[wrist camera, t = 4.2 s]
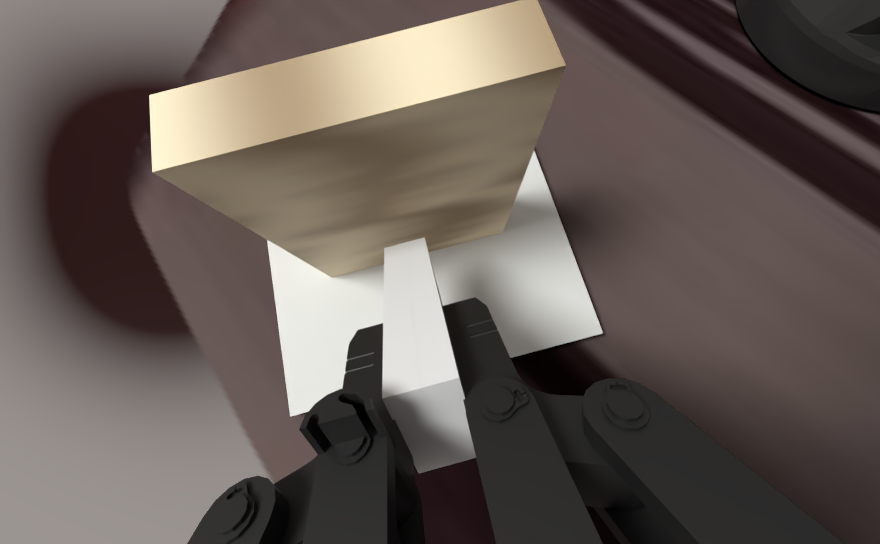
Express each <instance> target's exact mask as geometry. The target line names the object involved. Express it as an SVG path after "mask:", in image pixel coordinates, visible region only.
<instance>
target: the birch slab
mask: <svg viewBox="0 0 880 544" xmlns="http://www.w3.org/2000/svg"><path fill="white" fill-rule="evenodd" d="M565 66H566V64H565V62H564V60H563V58H562V55H561V53H560V51H559V49H558V46H557V44H556V42H555V39H554V37H553V35H552V33H551V30H550V28H549V26H548V23H547V21H546V19H545V17H544V14H543V12H542V10H541V7H540V5H539V3H538V1H537V0H520V1H516V2H512V3H508V4H504V5H500V6H496V7H492V8H488V9H485V10H481V11H477V12H473V13H469V14H465V15H461V16H457V17H453V18H449V19H445V20H442V21H438V22H434V23H430V24H426V25H422V26H418V27H414V28H410V29H406V30H402V31H398V32H395V33H391V34H387V35H383V36H379V37H375V38H371V39H367V40H363V41H359V42H355V43H352V44H348V45H344V46H340V47H336V48H332V49H328V50H324V51H320V52H316V53H312V54H309V55H305V56H301V57H297V58H293V59H289V60H285V61H281V62H277V63H273V64H269V65H266V66H262V67H258V68H254V69H250V70H246V71H242V72H238V73H234V74H230V75H226V76H222V77H219V78H215V79H211V80H207V81H203V82H199V83H195V84H191V85H187V86H183V87H179V88H176V89H172V90H168V91H164V92H160V93H156V94H152V95H149V98H150V125H151V150H152V172H153V173H155V174H157V175H158V176H160V177H162V178H163V179H165V180H167V181H168V182H170V183H172V184H174V185H175V186H177V187H179V188H180V189H182V190H184V191H185V192H187V193H189V194H191V195H192V196H194V197H196V198H197V199H199V200H201V201H202V202H204V203H206V204H208V205H209V206H211V207H213V208H214V209H216V210H218V211H219V212H221V213H223V214H225V215H226V216H228V217H230V218H231V219H233V220H235V221H236V222H238V223H240V224H241V225H243V226H245V227H247V228H248V229H250V230H252V231H253V232H255V233H257V234H258V235H260V236H262V237H264V238H265V239H267V240H269V241H270V242H272V243H274V244H275V245H277V246H279V247H281V248H282V249H284V250H286V251H287V252H289V253H291V254H292V255H294V256H296V257H298V258H299V259H301V260H303V261H304V262H306V263H308V264H309V265H311V266H313V267H315V268H316V269H318V270H320V271H321V272H323V273H325V274H326V275H328V276H330V277H331V278H332V277H336V276H339V275H343V274H347V273H351V272H355V271H359V270H362V269H366V268H370V267H374V266H378V265H381V264H384V248H386V247H390V246H394V245H397V244H401V243H405V242H409V241H412V240H416V239H420V238H424V237H425V241H426V245H427V248H428V252H431V251H435V250H439V249H442V248H446V247H450V246H454V245H458V244H461V243H465V242H469V241H473V240H477V239H481V238H484V237H488V236H492V235H496V234H500V233H503V231H504V228H505V226H506V223H507V220H508V218H509V215H510V212H511V210H512V207H513V204H514V202H515V199H516V196H517V194H518V191H519V188H520V186H521V183H522V181H523V178H524V175H525V173H526V170H527V167H528V165H529V162H530V159H531V157H532V154H533V151H534V149H535V146H536V143H537V141H538V138H539V135H540V133H541V130H542V127H543V125H544V122H545V119H546V117H547V114H548V111H549V109H550V106H551V104H552V101H553V98H554V96H555V93H556V90H557V88H558V85H559V82H560V80H561V77H562V74H563V72H564V69H565Z"/></svg>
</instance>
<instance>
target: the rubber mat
mask: <svg viewBox="0 0 880 544" xmlns="http://www.w3.org/2000/svg"><path fill="white" fill-rule="evenodd" d="M267 242H268V250H269V257H270V265H271V273H272V280H273V288H274V295H275V303H276V311H277V318H278V326H279V334H280V341H281V349H282V357H283V364H284V372H285V379H286V387H287V395H288V402H289V410H290V416H294V415H298V414H302V413H305V412H309V411H310V409H311V408H312V407H313V406H314V404H315V403H317V402H318V401H319V400H321V399H322V398H323V397H325V396H326V395H327V394H330V393H332V392H334V391H337V390H339V389H342V388H343V381H344V374H346V373H345V367H346V361H347V354H348V347H349V343H350V341H351V340H352V338H353V337H354V335H355V333H356V332H357V330H359V329H363V328H367V327H370V326H374V325H378V324H382V323H383V303H384V264H381V265H378V266H374V267H370V268H366V269H362V270H359V271H355V272H351V273H347V274H343V275H339V276H336V277H332V278H331V277H330V276H328V275H326V274H325V273H323V272H321V271H320V270H318V269H316V268H315V267H313V266H311V265H309V264H308V263H306V262H304V261H303V260H301V259H299V258H298V257H296V256H294V255H292V254H291V253H289V252H287V251H286V250H284V249H282V248H281V247H279V246H277V245H275V244H274V243H272V242H270V241H269V240H267ZM429 256H430V259H431V263H432V267H433V270H434V274H435V278H436V281H437V285H438V289H439V292H440V296H441V300H442V304H443V306H444V305H448V304H451V303H455V302H459V301H463V300H466V299H470V298H474V297H476V298H477V299H478V300H480V301H481V302H482V303H484V304H485V305H487V307H488V309H489V312H490V314H491V316H492V318H493V320H494V323H495V325H496V327H497V330H498V331H499V334H500V336H501V338H502V340H503V343H504V345H505V347H506V349H507V351H508V354H509V356H510V358H512V357H516V356H520V355H523V354H527V353H531V352H535V351H539V350H542V349H546V348H550V347H554V346H557V345H561V344H565V343H569V342H572V341H576V340H580V339H584V338H587V337H591V336H595V335H599V334H602V333H603V332H602V329H601V326H600V324H599V321H598V318H597V316H596V313H595V310H594V308H593V305H592V302H591V300H590V297H589V294H588V292H587V289H586V286H585V284H584V281H583V278H582V276H581V273H580V271H579V268H578V265H577V263H576V260H575V257H574V255H573V252H572V249H571V247H570V244H569V241H568V239H567V236H566V233H565V231H564V228H563V225H562V223H561V220H560V218H559V215H558V212H557V210H556V207H555V204H554V202H553V199H552V196H551V194H550V191H549V188H548V186H547V183H546V180H545V178H544V175H543V172H542V170H541V167H540V164H539V162H538V159H537V157H536V154H535V151H533V154H532V157H531V159H530V162H529V165H528V167H527V170H526V173H525V175H524V178H523V181H522V183H521V186H520V188H519V191H518V194H517V196H516V199H515V202H514V204H513V207H512V210H511V212H510V215H509V218H508V220H507V223H506V226H505V228H504V231H503V233H500V234H496V235H492V236H488V237H484V238H481V239H477V240H473V241H469V242H465V243H461V244H458V245H454V246H450V247H446V248H442V249H439V250H435V251H431V252H429Z"/></svg>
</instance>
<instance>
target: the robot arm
mask: <svg viewBox="0 0 880 544" xmlns="http://www.w3.org/2000/svg"><path fill="white" fill-rule="evenodd" d="M736 6H737V10H738V14H739V17H740V19H741V22H742V24H743V26H744V28H745V30H746V32H747V33H748V35H749V37H750V38H751V40H752V41H753V43H754V44H755V45H756V46H757V48H758V49H759V50H760V51H761V52H762V53H763V55H764V56H765V57H766V58H767V59H768V60H769V61H771V62H772V63H773V64H774V65H775V66H776V67H777V68H779V69H780V70H781V71H782V72H784V73H785V74H786V75H788V76H789V77H791V78H792V79H794V80H795V81H797V82H798V83H800V84H802V85H803V86H805V87H807V88H809V89H811V90H813V91H815V92H817V93H819V94H821V95H823V96H826V97H828V98H830V99H833V100H836V101H838V102H841V103H845V104H848V105H851V106H855V107H859V108H863V109H868V110H873V111H879V112H880V0H736ZM345 373H346V374H344V381H343V388H342V389H339V390H337V391H334V392H332V393H330V394H327V395H326V396H325V397H323V398H322V399H321V400H319V401H318V402H317V403H315V404H314V406H313V407H312V408H311V409H310V411H309V412H308V413H307V414H306V415H305V417H304V420H303V422H302V424H301V426H300V429H299V430H300V431H301V432H302V434H303V435H304V436H305V438H306V439H307V440H308V442H309V443H310V444H311V446H312V447H313V448H314V450H315V451H316V452H317V454H318V456H316V457H315V458H314V459H313V460H312V461H310V462H309V463H307V464H306V465H305V466H303V467H301V468H300V469H298V470H296V471H295V472H293V473H291V474H290V475H288V476H286V477H285V478H283V479H281V480H280V481H278V482H276V483H275V484H273V483H272V482H271V481H270V480H269V479H268V478H264V477H260V476H255V477H251V478H247V479H244V480H242V481H240V482H238V483H237V484H235V485H233V486H232V487H230V488H229V489H228V490H227V491H226V492H224V493H223V494H222V495H221V496H220V497H219V498H218V499H217V500H216V501H215V502H214V503H213V505H212V506H211V507H210V509H209V510H208V511H207V513H206V514H205V515H204V517H203V518H202V520H201V522H200V523H199V525H198V527H197V528H196V530H195V532H194V533H193V535H192V537H191V539H190V540H189V542H188V543H187V544H425V536H424V524H423V513H422V502H421V498H420V495H419V491H418V489H417V487H416V485H415V475H414V465H415V467H416V469H417V471H418V473H422V472H425V471H429V470H433V469H436V468H440V467H444V466H447V465H451V464H455V463H458V462H462V461H465V460H469V459H473V458H476V459H477V464H478V468H479V472H480V476H481V480H482V485H483V489H484V493H485V497H486V502H487V506H488V510H489V514H490V518H491V523H492V527H493V531H494V535H495V540H496V544H603V543H602V541H601V539H600V537H599V535H598V532H597V530H596V528H595V526H594V524H593V522H592V520H591V517H590V515H589V513H588V511H587V509H586V507H585V506H591V507H593V508H594V509H595V510H596V512H597V513H598V514H599V516H600V517H601V518H602V520H603V521H604V522H605V524H606V525H607V526H608V528H609V529H610V530H611V532H612V533H613V535H614V536H615V537H616V539H617V540H618V541H619V543H620V544H844V543H843V542H841V541H840V540H839V539H838V538H836V537H835V536H834V535H833V534H831V533H830V532H829V531H828V530H826V529H825V528H824V527H823V526H821V525H820V524H819V523H817V522H816V521H815V520H814V519H812V518H811V517H810V516H809V515H807V514H806V513H805V512H804V511H802V510H801V509H800V508H799V507H797V506H796V505H795V504H794V503H792V502H791V501H790V500H789V499H787V498H786V497H785V496H784V495H782V494H781V493H780V492H779V491H777V490H776V489H775V488H774V487H772V486H771V485H770V484H769V483H767V482H766V481H765V480H764V479H762V478H761V477H760V476H759V475H757V474H756V473H755V472H754V471H752V470H751V469H750V468H749V467H747V466H746V465H745V464H743V463H742V462H741V461H740V460H738V459H737V458H736V457H735V456H733V455H732V454H731V453H730V452H728V451H727V450H726V449H725V448H723V447H722V446H721V445H720V444H718V443H717V442H716V441H715V440H713V439H712V438H711V437H710V436H708V435H707V434H706V433H705V432H703V431H702V430H701V429H700V428H698V427H697V426H696V425H695V424H693V423H692V422H691V421H690V420H688V419H687V418H686V417H685V416H683V415H682V414H681V413H680V412H678V411H677V410H676V409H675V408H673V407H672V406H671V405H670V404H668V403H667V402H666V401H664V400H663V399H662V398H661V397H659V396H658V395H657V394H656V393H654V392H653V391H651V390H649V389H648V388H646V387H644V386H643V385H641V384H639V383H636V382H633V381H629V380H626V379H611V378H608V379H604V380H601V381H598V382H595V383H594V384H593V385H591V386H590V387H589V388H588V389H587V390H586V392H585V394H584V396H571V395H554V394H547V393H544V392H541V391H538V390H536V389H534V388H532V387H530V386H529V385H527V384H526V383H525V382H524V381H523V380H522V379H521V378H520V376H519V375H518V373H517V371H516V369H515V367H514V365H513V362H512V360H511V358H510V356H509V354H508V351H507V349H506V347H505V345H504V343H503V340H502V338H501V336H500V334H499V331H498V330H497V327H496V325H495V323H494V320H493V318H492V316H491V314H490V312H489V309H488V307H487V305H485V304H484V303H482V302H481V301H480V300H478V299H477V298H476V297H474V298H470V299H466V300H463V301H459V302H455V303H451V304H448V305H444V306H443V304H442V300H441V296H440V292H439V289H438V285H437V281H436V278H435V274H434V270H433V267H432V263H431V259H430V256H429V252H428V248H427V245H426V241H425V237H424V238H420V239H416V240H412V241H409V242H405V243H401V244H397V245H394V246H390V247H386V248H384V303H383V323H382V324H378V325H374V326H370V327H367V328H363V329H359V330H357V332H356V333H355V335H354V337H353V338H352V340H351V341H350V343H349V347H348V354H347V361H346V367H345Z"/></svg>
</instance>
